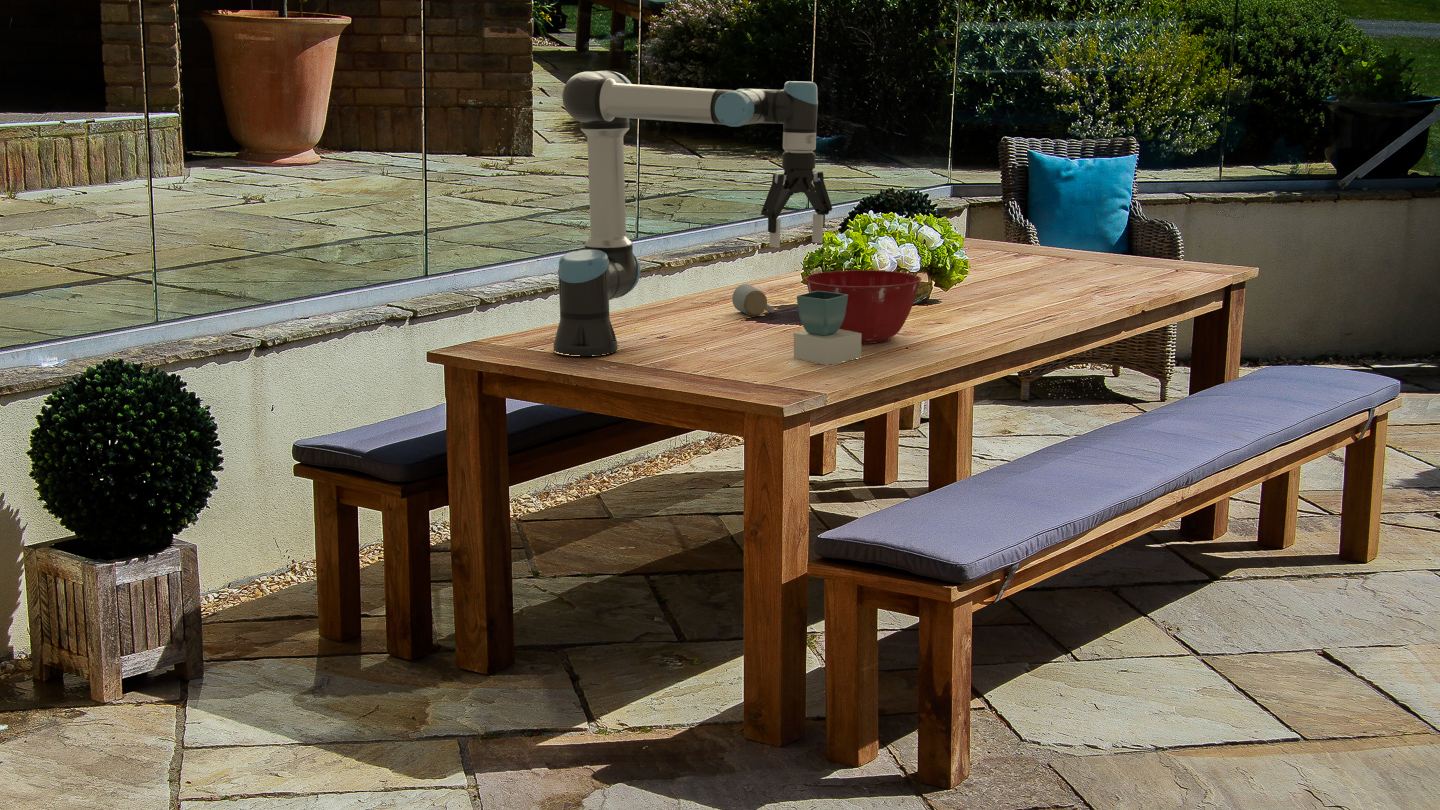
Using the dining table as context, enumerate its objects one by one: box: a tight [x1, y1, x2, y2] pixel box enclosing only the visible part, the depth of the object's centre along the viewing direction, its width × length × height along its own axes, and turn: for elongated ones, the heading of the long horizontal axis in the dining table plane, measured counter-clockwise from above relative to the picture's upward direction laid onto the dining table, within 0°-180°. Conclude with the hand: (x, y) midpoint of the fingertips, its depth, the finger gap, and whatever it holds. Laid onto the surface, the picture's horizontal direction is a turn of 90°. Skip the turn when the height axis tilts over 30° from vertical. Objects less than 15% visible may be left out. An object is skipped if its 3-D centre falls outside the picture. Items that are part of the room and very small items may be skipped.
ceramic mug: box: [731, 283, 775, 316], centre depth 391 cm, size 11×8×8 cm
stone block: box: [793, 329, 862, 366], centre depth 334 cm, size 11×11×6 cm
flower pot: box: [796, 291, 848, 336], centre depth 332 cm, size 9×9×9 cm
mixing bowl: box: [804, 269, 922, 344], centre depth 356 cm, size 28×28×15 cm
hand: (796, 244), depth 332 cm, fingers open, 13 cm apart
